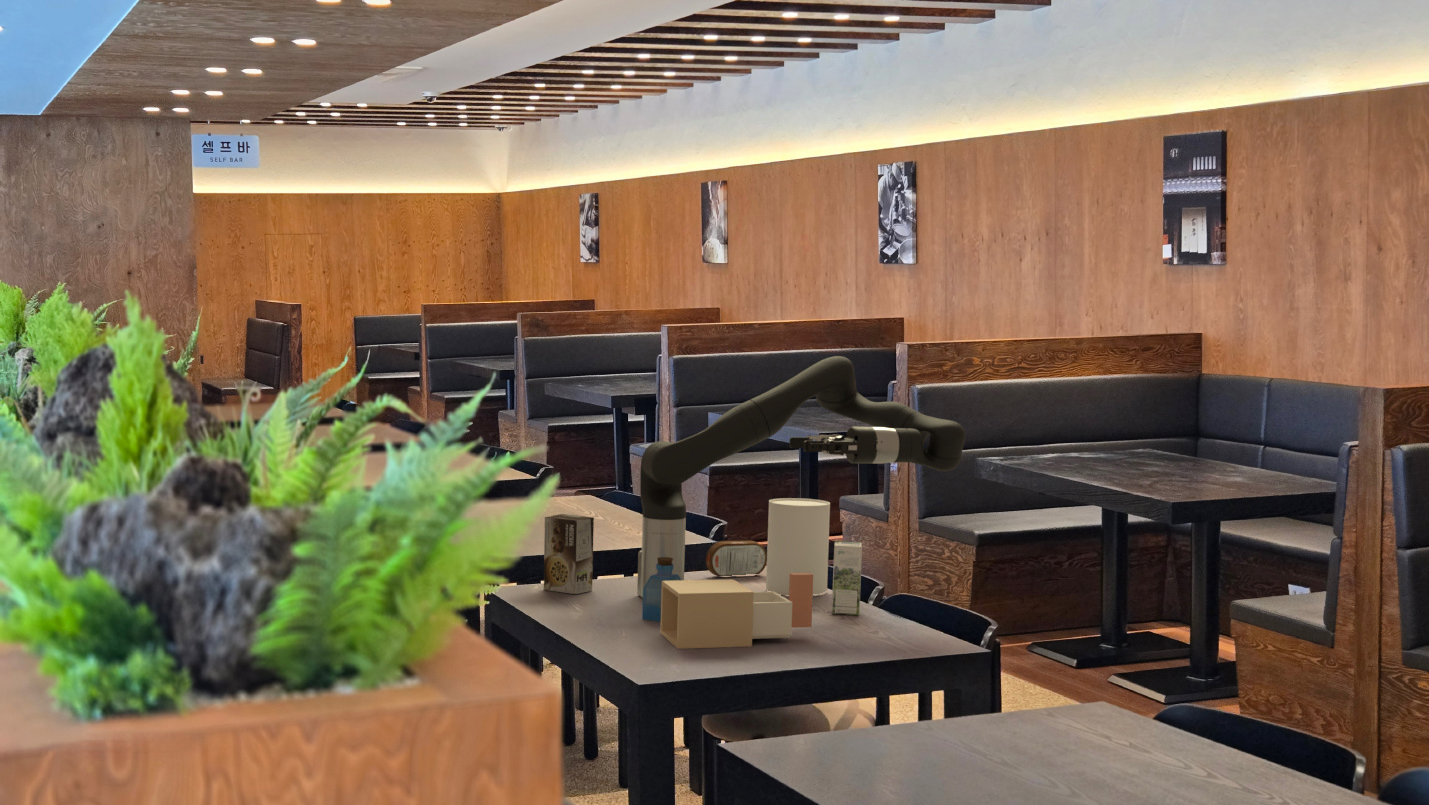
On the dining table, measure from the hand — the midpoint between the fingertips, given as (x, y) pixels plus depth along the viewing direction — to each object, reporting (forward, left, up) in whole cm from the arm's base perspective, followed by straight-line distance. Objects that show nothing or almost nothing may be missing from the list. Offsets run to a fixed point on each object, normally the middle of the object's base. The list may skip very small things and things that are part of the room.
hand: (797, 444), depth 287 cm
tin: (-39, +26, -35) cm, 59 cm away
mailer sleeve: (+4, -29, -35) cm, 46 cm away
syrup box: (+4, +13, -35) cm, 38 cm away
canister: (-18, +23, -35) cm, 46 cm away
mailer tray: (+10, -19, -34) cm, 40 cm away
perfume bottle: (-15, -21, -35) cm, 44 cm away
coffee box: (-49, -17, -35) cm, 63 cm away
